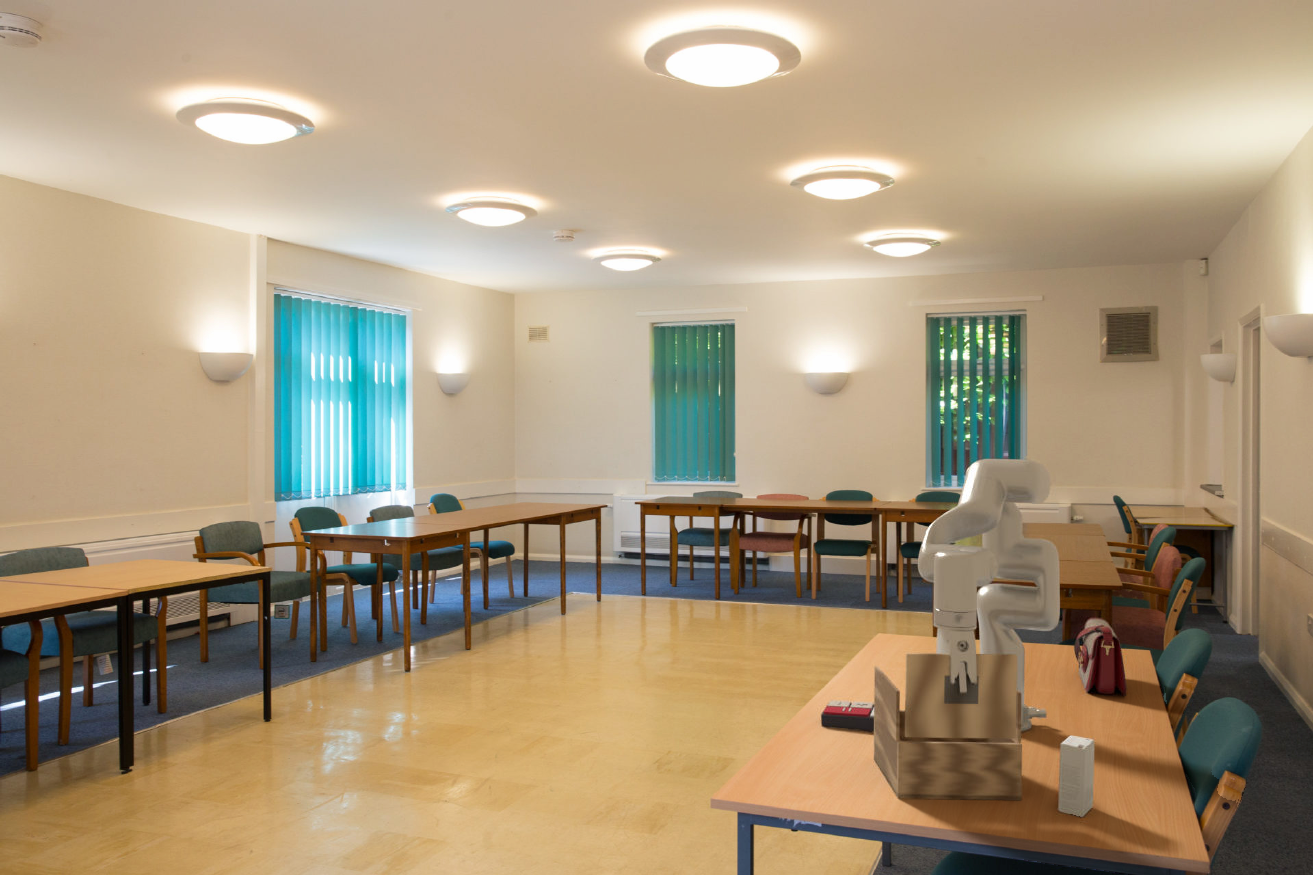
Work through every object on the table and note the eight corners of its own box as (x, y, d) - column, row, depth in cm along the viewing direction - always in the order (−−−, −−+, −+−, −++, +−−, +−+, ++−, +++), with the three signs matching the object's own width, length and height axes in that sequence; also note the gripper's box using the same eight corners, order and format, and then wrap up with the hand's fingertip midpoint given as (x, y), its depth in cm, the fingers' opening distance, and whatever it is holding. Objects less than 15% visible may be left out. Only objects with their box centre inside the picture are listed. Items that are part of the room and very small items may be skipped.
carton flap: (1015, 654, 165) (1017, 655, 165) (1014, 737, 166) (1015, 738, 165) (905, 653, 166) (906, 654, 165) (904, 735, 166) (905, 737, 165)
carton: (984, 760, 185) (985, 666, 185) (1022, 800, 165) (1023, 694, 165) (872, 759, 186) (873, 664, 186) (896, 798, 166) (897, 692, 166)
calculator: (828, 698, 217) (894, 701, 212) (829, 716, 217) (895, 720, 212) (820, 711, 207) (889, 715, 202) (821, 730, 207) (889, 735, 201)
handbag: (1072, 670, 258) (1072, 608, 258) (1113, 673, 255) (1114, 610, 255) (1081, 696, 232) (1082, 627, 232) (1128, 701, 228) (1129, 630, 228)
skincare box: (1067, 801, 165) (1068, 733, 165) (1094, 807, 162) (1095, 739, 162) (1057, 811, 160) (1057, 742, 160) (1084, 818, 157) (1085, 747, 157)
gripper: (989, 627, 161) (988, 732, 161) (963, 610, 176) (962, 706, 176) (946, 626, 161) (945, 731, 161) (923, 610, 176) (922, 706, 176)
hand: (954, 718), depth 169 cm, fingers closed
